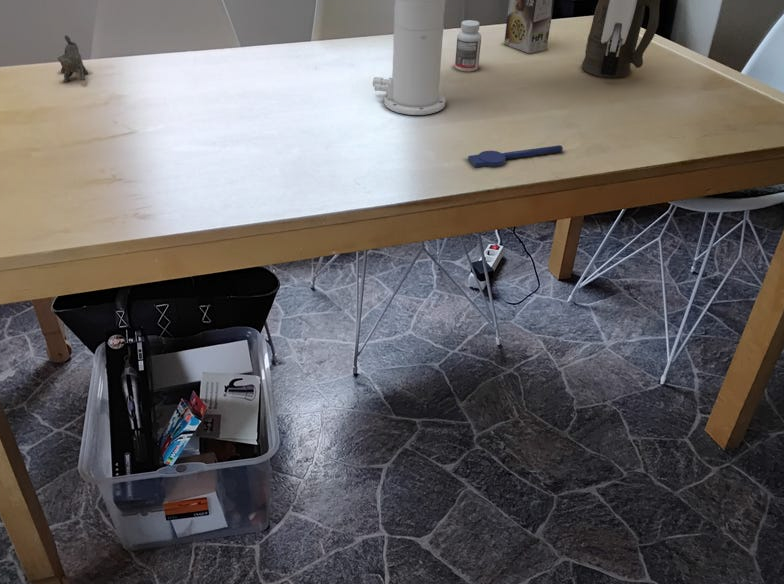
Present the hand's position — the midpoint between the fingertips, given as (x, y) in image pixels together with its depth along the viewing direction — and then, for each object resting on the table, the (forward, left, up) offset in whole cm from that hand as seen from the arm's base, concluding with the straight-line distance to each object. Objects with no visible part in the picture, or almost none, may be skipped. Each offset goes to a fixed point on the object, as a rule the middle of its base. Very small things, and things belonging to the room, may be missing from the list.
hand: (607, 73), depth 158 cm
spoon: (-12, -45, -2) cm, 46 cm away
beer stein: (+1, +8, -2) cm, 8 cm away
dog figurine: (-110, -39, -2) cm, 117 cm away
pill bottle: (-31, -2, -2) cm, 31 cm away
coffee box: (-21, +18, -2) cm, 28 cm away
